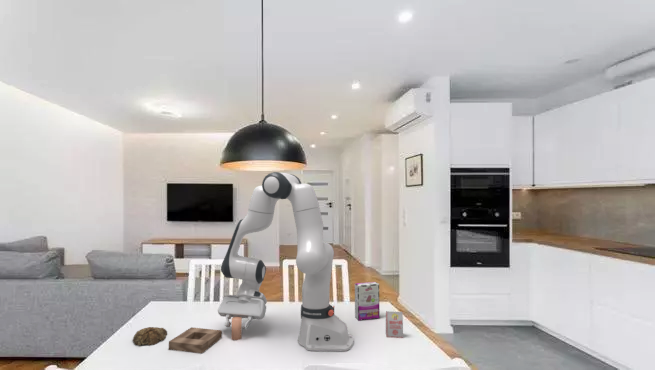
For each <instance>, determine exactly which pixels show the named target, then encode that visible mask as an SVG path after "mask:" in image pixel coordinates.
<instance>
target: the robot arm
mask: <svg viewBox="0 0 655 370" xmlns="http://www.w3.org/2000/svg"><path fill="white" fill-rule="evenodd" d="M279 200H287V201H289V202H290V204H291V208H292V214H293V218H294V224H295V227H296V235H297V236H296V238H297V241H296V242H297V245H296V246H297V248H296V249H297V254H296V258H295V264H296V265H295V266H297V270H299V271H300V272H301V273H303V274H304V279H303V282H302V286H301V288H302V290H301V291H302V292H301V293H302V294H301V297H302V298H301V299H302V300H301V302H302V304H301V306H300V319H301V322H300V329H299V334H298V337H297V338H298V339H297V342H298V344H299V345H301V346H302V347H304V348H305V349H306V350H307V351H311V352H312V351H313V352H316V351H317V352H319V351H320V352H347V351H350V350H351V349H352V348H353V345H354V343H355V338H354V336H353V335H352V334H350V333H349V330H348V326H347V323H346V322H345V321H344V320H341V318H340V317H338V316H337V315H336V314H335V305H333V306H332V305H331V303H330V290H331V289H330V285H331V277H332V272H333V261H334V255H335V252H334V251H335V250H334V247H333V246H332V245H331V244H330V243H328V242H327V241H326V242H325V241H324V234H323V233H324V223H323V222H324V221H323V218H322V213H321V209H320V203H319V200H318V197H317V194H316V191H315V190H314V187H313V185H311V184H309V183H302V181H301V179H300V178H299V177H298V176H296V175H294V174H291V173H288V172H280V171H273V172H270V173H268V174H267V175H265V176H264V177H263V180H262V182H261V185H257V186H255V188H254V189H253V191H252V193H251V197H250V200H249V204H248V210H247V213H246V215H245V217H244V218H241V219H240V220H239V221H238V222H237V224H236V226H235V229H234V231H233V233H232V237H231V240H230V243H229V245H228V248H227V251H226V254H225V256H224V258H223V260H222V263H221V266H220V271H221V273H222V275H223V276H224V277H225V278H226V279H227V278H228V279H236V280H237V279H238V280H242V282H241V284H240V285H239V287H238V290H237V293H236V294H227V295H225V296H224V297H223V298H222V301H221V302H220V304H219V307H218V309H217V313H218V315H219V316H220V317H225V321H226V322H225V325H224V326H225V328H231V326H232V322H231V321H230V320H232V318H233V317H242V319H247V321H246V322H243V323H242V330H244V329H245V330H246V329H248V327H249V326H250V324H251V323H252V322H253V320H258V321H259V320H261V321H262V320H264V318H265V317H266V312H267V302H268V300H267V297H266V295H265V294H264V293H263V292H261V291H260V288H261V285H262V283H263V282H264V279H265V277H266V271H267V268H266V267H267V266H266V265H265V263H264V262H263V260H261V259H258V258H253V257H248V256H243V255H239V253H238V252H239V250H240V247H241V244H242V241H243V238H244V237H245V236H246V235H249V234H253V233H259V232H262V231H264V230H267V229H268V228H269V227H270V226H271V225H272V223H273V220H274V215H275V208H276V204H277V202H278V201H279Z"/></svg>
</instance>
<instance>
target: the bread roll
mask: <svg viewBox="0 0 655 370" xmlns="http://www.w3.org/2000/svg"><path fill="white" fill-rule="evenodd" d="M167 336H168V331H167V329H166V328H164V327H157V326H156V327H154V326H149V327H144V328H141V329H139V330H137V331H136V332H135V334H134V336H133V337H132V342H133V344H134V345H135V346H136V347H140V346H145V345H147V346H154V345H158V344H159V343H161V342H163V341H165V340H166V338H167Z"/></svg>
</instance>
